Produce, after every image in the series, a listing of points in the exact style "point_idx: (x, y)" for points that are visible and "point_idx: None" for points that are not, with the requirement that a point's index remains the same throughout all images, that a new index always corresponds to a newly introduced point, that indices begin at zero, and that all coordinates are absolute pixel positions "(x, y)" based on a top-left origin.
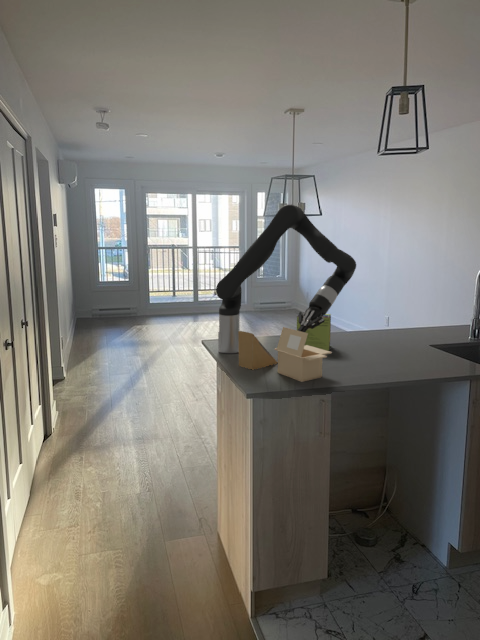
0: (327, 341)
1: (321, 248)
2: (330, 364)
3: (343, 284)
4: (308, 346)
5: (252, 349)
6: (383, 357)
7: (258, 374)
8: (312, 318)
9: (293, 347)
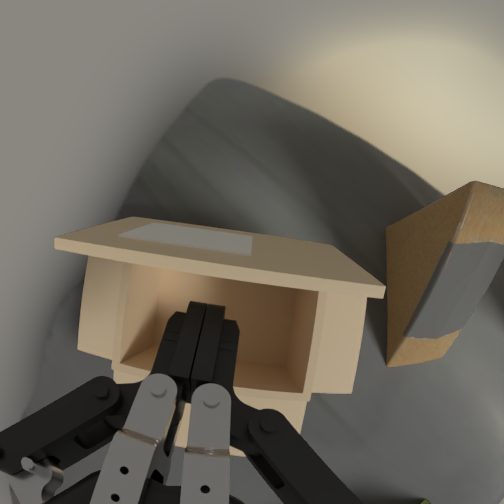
0: None
1: None
2: (237, 488)
3: None
4: None
5: (428, 205)
6: None
7: (335, 203)
8: (97, 474)
9: (189, 228)
